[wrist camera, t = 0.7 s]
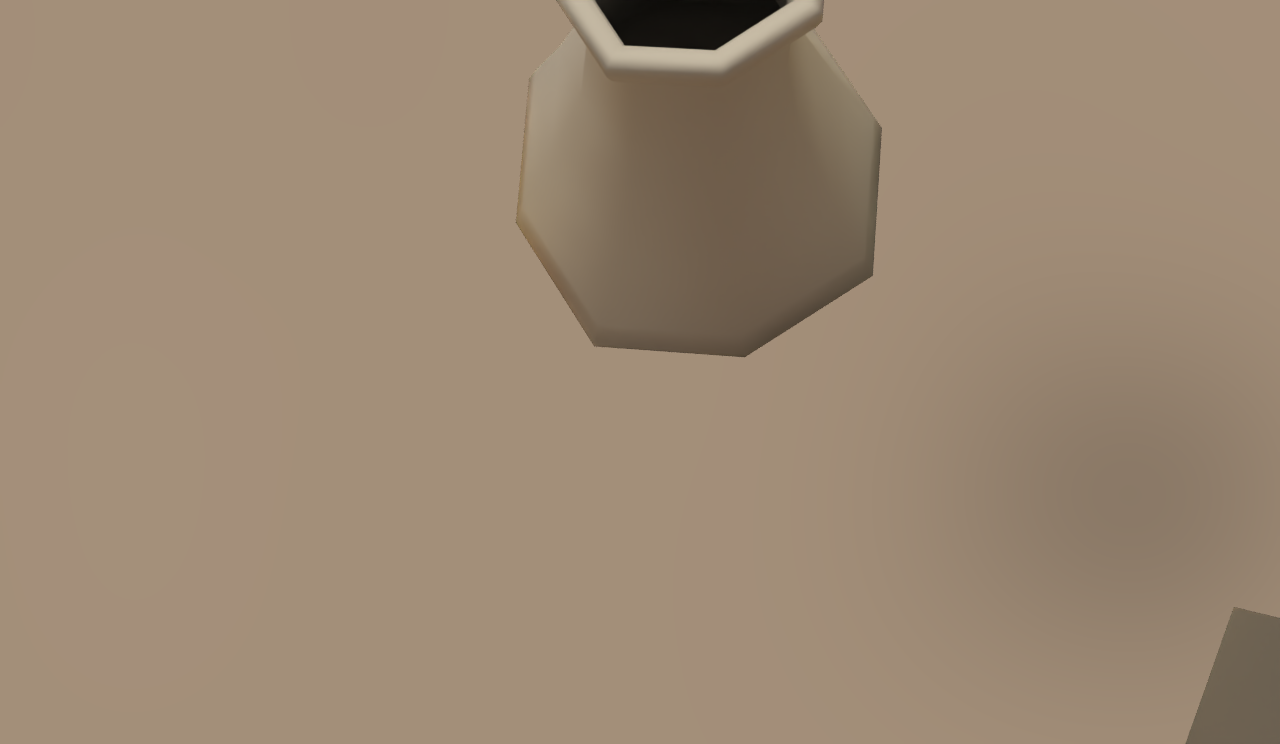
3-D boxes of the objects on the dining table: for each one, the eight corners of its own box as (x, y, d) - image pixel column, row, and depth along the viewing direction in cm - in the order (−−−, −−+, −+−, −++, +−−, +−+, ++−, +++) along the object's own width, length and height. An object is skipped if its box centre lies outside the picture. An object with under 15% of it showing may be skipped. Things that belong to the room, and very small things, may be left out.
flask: (561, 404, 22) (438, 341, 12) (476, 53, 23) (295, -279, 13) (929, 311, 22) (1112, 169, 12) (831, -41, 23) (925, -453, 13)
